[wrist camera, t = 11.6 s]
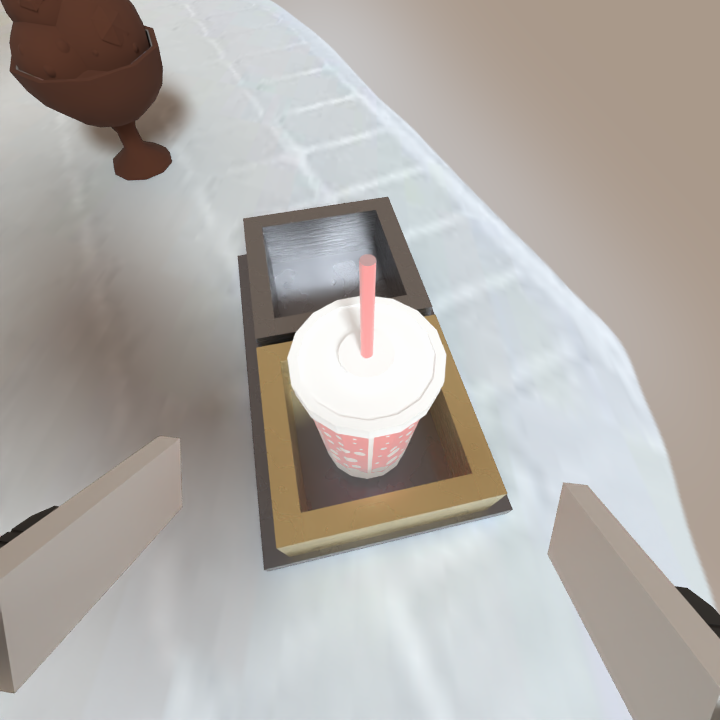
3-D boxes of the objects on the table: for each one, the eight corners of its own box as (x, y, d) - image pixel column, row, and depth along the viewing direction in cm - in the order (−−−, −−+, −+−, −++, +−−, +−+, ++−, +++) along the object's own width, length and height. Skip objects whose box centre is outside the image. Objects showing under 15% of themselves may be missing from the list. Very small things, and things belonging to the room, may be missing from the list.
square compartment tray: (241, 265, 32) (224, 218, 28) (399, 239, 33) (404, 191, 29) (268, 571, 20) (245, 563, 17) (506, 513, 22) (537, 494, 18)
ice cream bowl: (88, 211, 35) (-70, -12, 22) (83, 144, 41) (-46, -66, 28) (208, 183, 37) (125, -38, 24) (188, 122, 43) (113, -84, 30)
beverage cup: (414, 389, 25) (461, 188, 13) (424, 491, 21) (500, 350, 9) (315, 392, 25) (268, 192, 13) (310, 494, 21) (242, 356, 9)
